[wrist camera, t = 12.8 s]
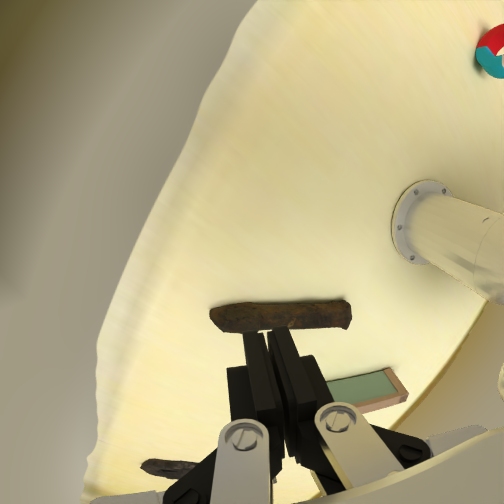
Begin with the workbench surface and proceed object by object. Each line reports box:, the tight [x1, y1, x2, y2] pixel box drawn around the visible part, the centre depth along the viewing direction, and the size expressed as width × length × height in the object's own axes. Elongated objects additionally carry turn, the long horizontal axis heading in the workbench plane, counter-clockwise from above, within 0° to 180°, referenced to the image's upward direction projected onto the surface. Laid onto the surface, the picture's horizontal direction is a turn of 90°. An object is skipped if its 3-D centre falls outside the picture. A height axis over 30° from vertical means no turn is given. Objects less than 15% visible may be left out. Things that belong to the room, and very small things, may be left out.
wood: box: [140, 459, 199, 479], centre depth 52 cm, size 22×7×3 cm, turn 73°
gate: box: [327, 368, 409, 414], centre depth 45 cm, size 2×19×7 cm, turn 92°
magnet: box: [476, 24, 504, 79], centre depth 27 cm, size 12×3×10 cm, turn 153°
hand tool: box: [209, 300, 352, 334], centre depth 40 cm, size 19×4×5 cm, turn 84°
